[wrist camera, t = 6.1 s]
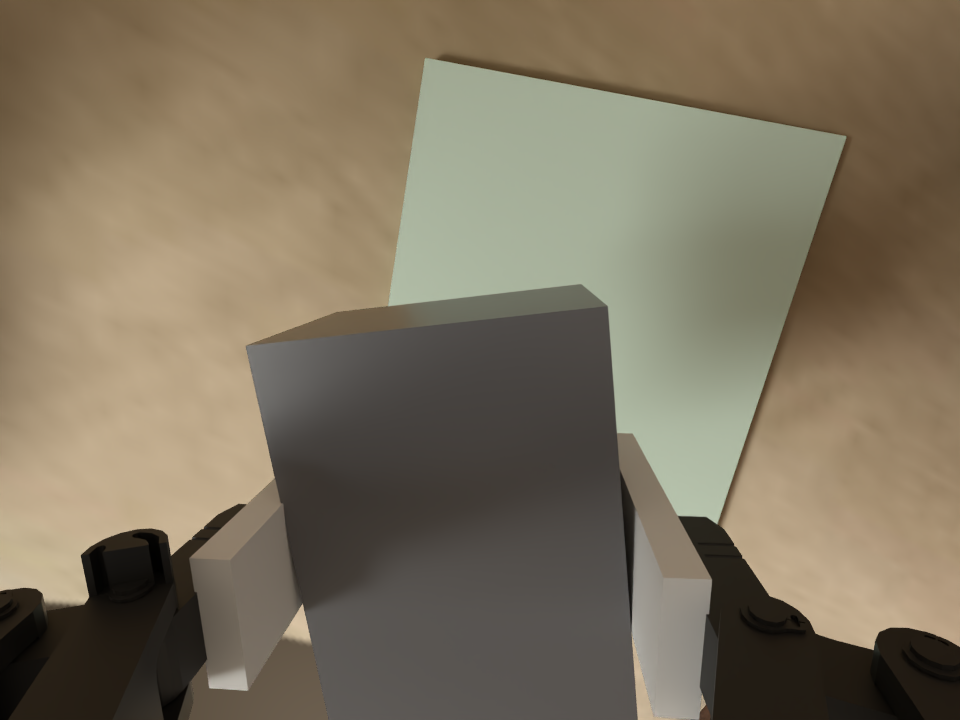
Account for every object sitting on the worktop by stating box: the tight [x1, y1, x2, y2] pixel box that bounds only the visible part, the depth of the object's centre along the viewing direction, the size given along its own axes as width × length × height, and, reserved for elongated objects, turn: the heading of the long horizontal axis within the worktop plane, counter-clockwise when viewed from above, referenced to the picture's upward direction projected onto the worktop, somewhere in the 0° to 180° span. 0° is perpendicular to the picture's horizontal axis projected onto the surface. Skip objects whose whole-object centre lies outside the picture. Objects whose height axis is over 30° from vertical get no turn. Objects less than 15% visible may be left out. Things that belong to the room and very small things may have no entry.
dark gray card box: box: [246, 284, 638, 720], centre depth 13 cm, size 10×7×5 cm
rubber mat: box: [388, 58, 847, 524], centre depth 28 cm, size 20×28×1 cm
